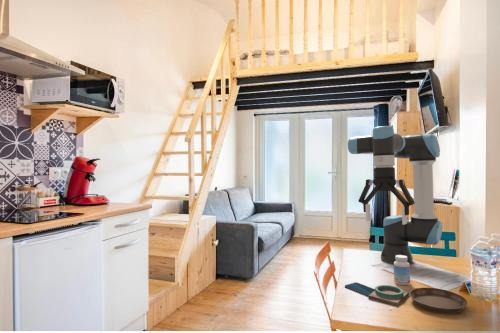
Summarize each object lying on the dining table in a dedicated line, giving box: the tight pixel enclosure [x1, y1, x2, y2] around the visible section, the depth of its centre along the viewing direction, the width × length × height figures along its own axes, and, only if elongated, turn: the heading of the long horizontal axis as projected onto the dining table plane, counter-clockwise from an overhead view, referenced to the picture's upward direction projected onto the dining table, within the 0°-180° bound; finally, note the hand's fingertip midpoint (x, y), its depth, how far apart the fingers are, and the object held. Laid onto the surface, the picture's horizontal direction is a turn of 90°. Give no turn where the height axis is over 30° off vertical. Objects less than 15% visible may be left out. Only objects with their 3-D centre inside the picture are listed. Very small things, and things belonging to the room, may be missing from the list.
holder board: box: [367, 284, 410, 307], centre depth 121 cm, size 13×10×3 cm
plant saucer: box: [409, 287, 468, 315], centre depth 113 cm, size 18×18×3 cm
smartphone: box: [344, 282, 375, 298], centre depth 127 cm, size 8×15×1 cm, turn 29°
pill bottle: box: [393, 255, 411, 286], centre depth 135 cm, size 6×6×11 cm
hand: (385, 222), depth 122 cm, fingers open, 13 cm apart
